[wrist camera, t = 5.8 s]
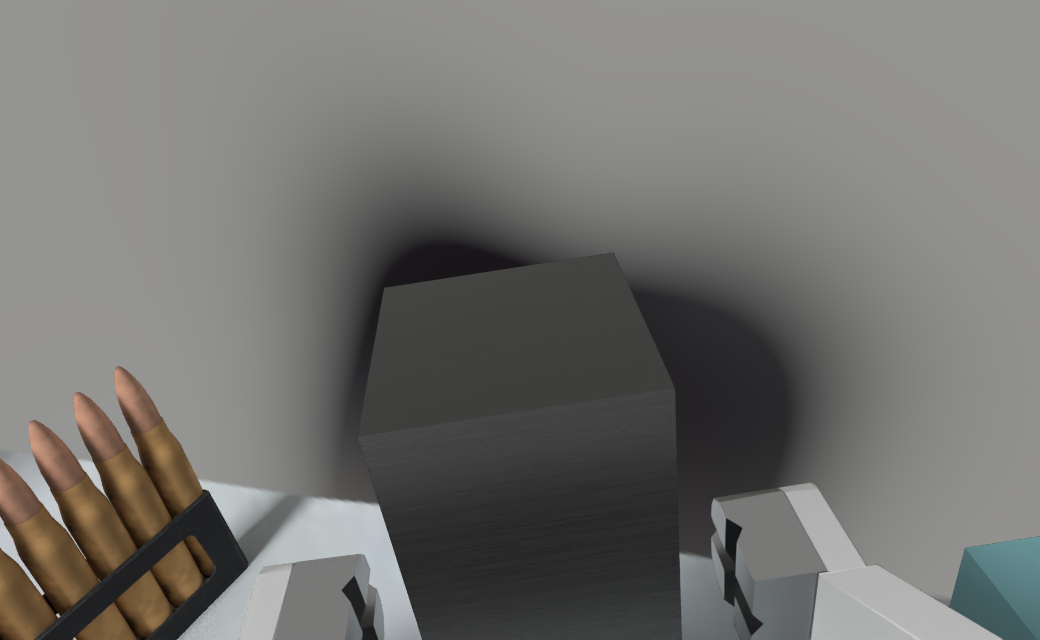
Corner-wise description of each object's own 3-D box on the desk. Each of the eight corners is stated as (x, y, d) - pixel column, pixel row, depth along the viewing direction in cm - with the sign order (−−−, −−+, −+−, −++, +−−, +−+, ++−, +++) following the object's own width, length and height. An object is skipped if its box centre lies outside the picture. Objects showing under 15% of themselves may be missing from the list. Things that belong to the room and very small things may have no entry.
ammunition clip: (224, 553, 35) (123, 350, 29) (250, 564, 35) (152, 357, 28) (10, 759, 28) (-187, 542, 22) (37, 781, 27) (-160, 560, 21)
